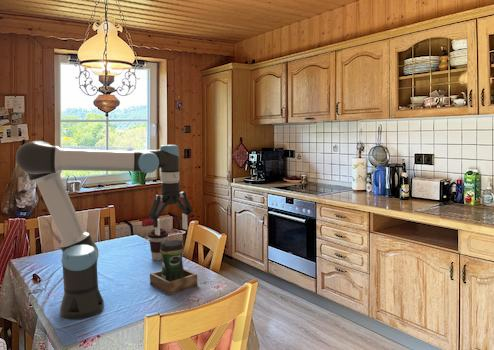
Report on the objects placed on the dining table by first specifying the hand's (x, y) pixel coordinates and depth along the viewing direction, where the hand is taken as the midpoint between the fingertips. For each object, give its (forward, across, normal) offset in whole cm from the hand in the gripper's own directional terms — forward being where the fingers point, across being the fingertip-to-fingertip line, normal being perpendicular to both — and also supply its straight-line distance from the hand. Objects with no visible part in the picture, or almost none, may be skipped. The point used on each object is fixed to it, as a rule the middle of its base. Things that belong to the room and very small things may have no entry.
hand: (171, 232), depth 174 cm
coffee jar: (+23, 0, 0) cm, 23 cm away
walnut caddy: (+23, 0, 0) cm, 23 cm away
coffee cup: (+24, +15, +36) cm, 46 cm away
